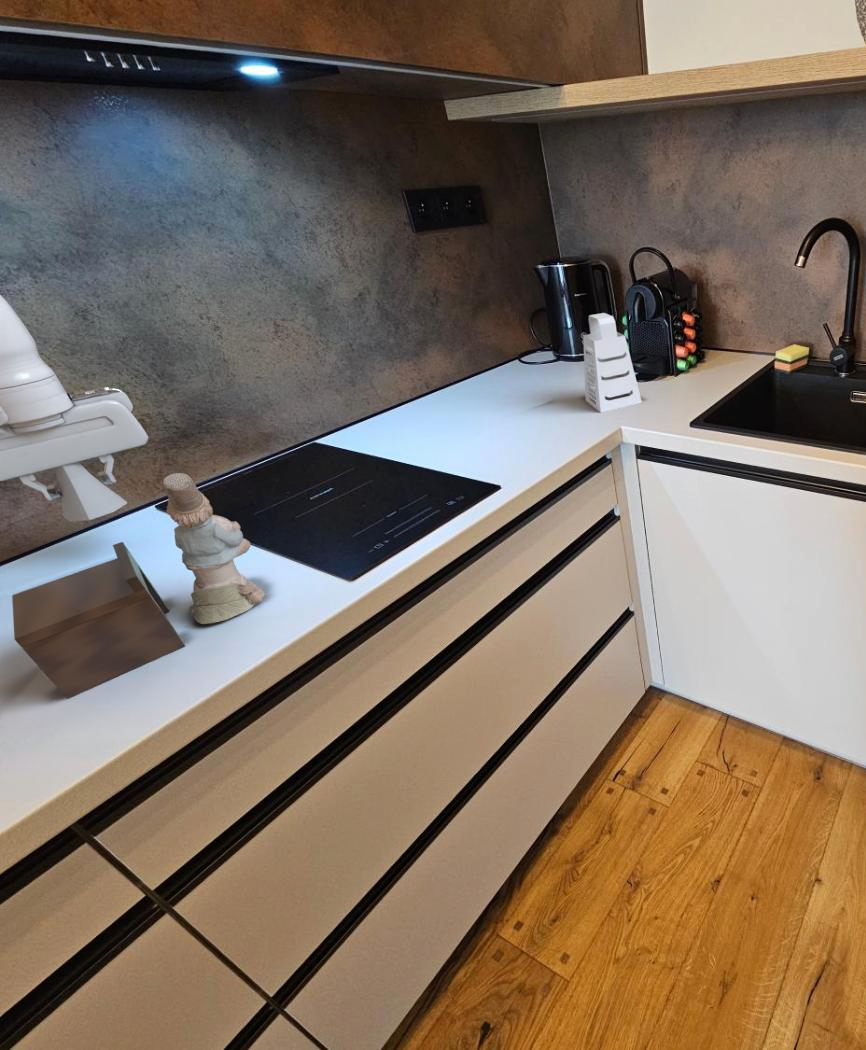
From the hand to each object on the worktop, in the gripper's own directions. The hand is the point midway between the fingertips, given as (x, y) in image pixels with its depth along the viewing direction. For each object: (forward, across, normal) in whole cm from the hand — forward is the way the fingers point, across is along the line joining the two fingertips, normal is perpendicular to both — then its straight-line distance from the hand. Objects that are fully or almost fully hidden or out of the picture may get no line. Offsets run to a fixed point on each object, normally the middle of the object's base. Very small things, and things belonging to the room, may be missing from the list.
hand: (83, 490), depth 88 cm
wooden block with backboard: (+11, +4, +31) cm, 33 cm away
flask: (+4, 0, 0) cm, 4 cm away
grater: (+10, -92, +13) cm, 93 cm away
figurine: (+11, -8, +32) cm, 35 cm away
